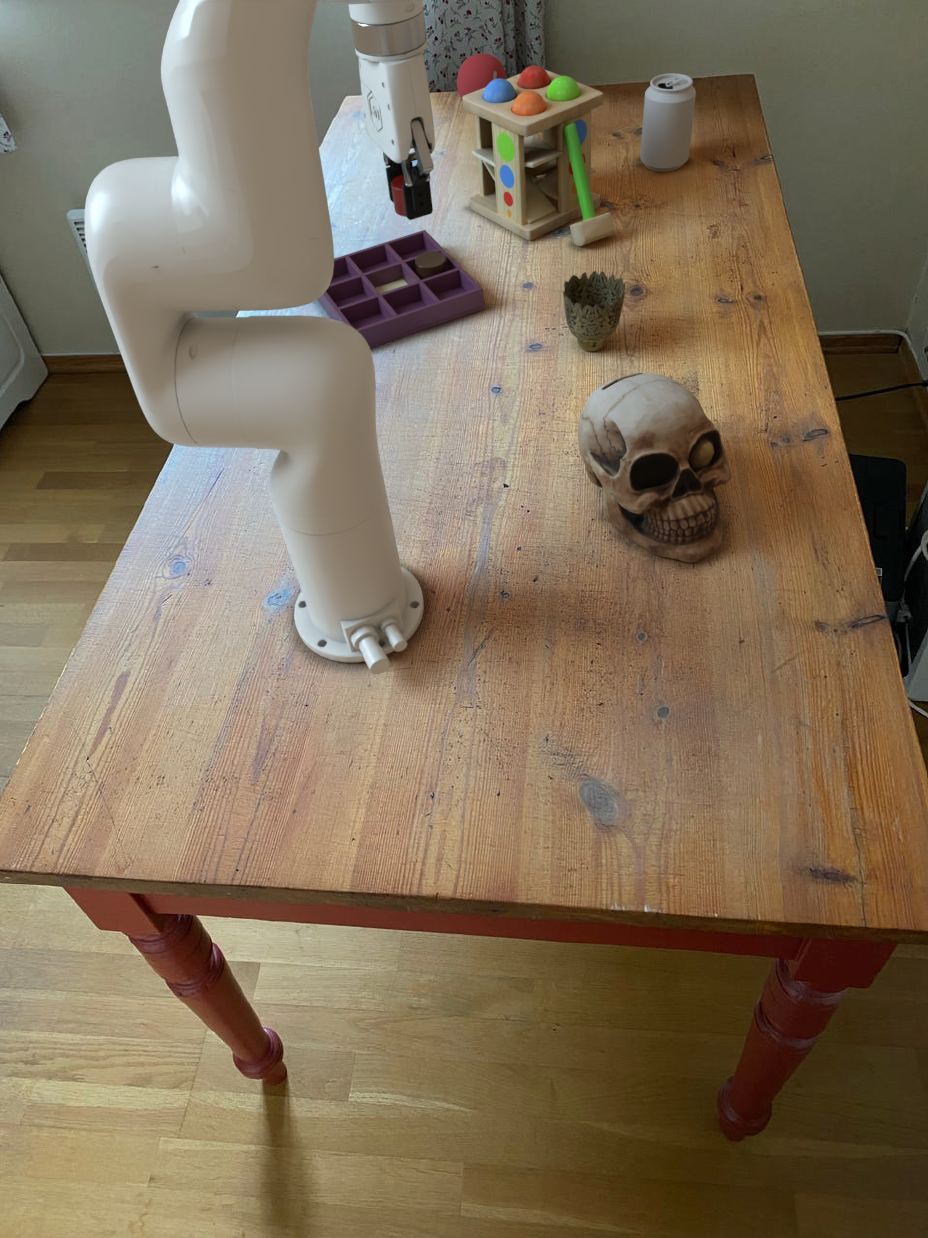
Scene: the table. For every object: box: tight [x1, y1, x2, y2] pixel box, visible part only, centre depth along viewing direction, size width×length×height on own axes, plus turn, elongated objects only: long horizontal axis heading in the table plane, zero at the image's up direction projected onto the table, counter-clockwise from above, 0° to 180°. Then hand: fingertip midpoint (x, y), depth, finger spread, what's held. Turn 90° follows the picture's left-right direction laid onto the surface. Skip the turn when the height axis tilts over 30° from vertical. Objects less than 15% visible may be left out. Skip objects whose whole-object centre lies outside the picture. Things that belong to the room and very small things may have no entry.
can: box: [639, 72, 697, 173], centre depth 136 cm, size 8×8×12 cm
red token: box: [391, 174, 407, 218], centre depth 105 cm, size 4×4×3 cm
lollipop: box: [456, 52, 507, 102], centre depth 141 cm, size 8×8×15 cm
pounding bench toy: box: [462, 65, 615, 247], centre depth 126 cm, size 23×14×18 cm, turn 38°
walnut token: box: [415, 251, 447, 280], centre depth 122 cm, size 4×4×3 cm
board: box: [316, 229, 485, 349], centre depth 121 cm, size 19×19×3 cm
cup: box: [562, 270, 626, 352], centre depth 109 cm, size 8×7×8 cm
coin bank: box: [577, 372, 733, 563], centre depth 90 cm, size 16×17×13 cm
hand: (411, 205), depth 106 cm, fingers closed on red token, 4 cm apart
